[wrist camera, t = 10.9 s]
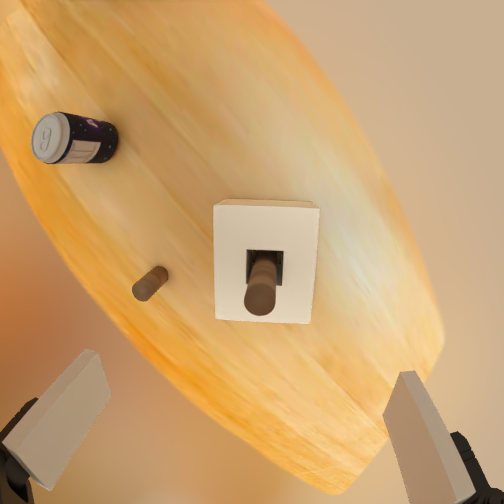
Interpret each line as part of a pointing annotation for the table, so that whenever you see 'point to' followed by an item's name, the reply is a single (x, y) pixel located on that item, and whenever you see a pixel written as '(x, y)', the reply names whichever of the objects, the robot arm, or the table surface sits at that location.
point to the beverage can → (73, 139)
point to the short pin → (150, 283)
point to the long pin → (262, 284)
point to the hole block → (265, 238)
